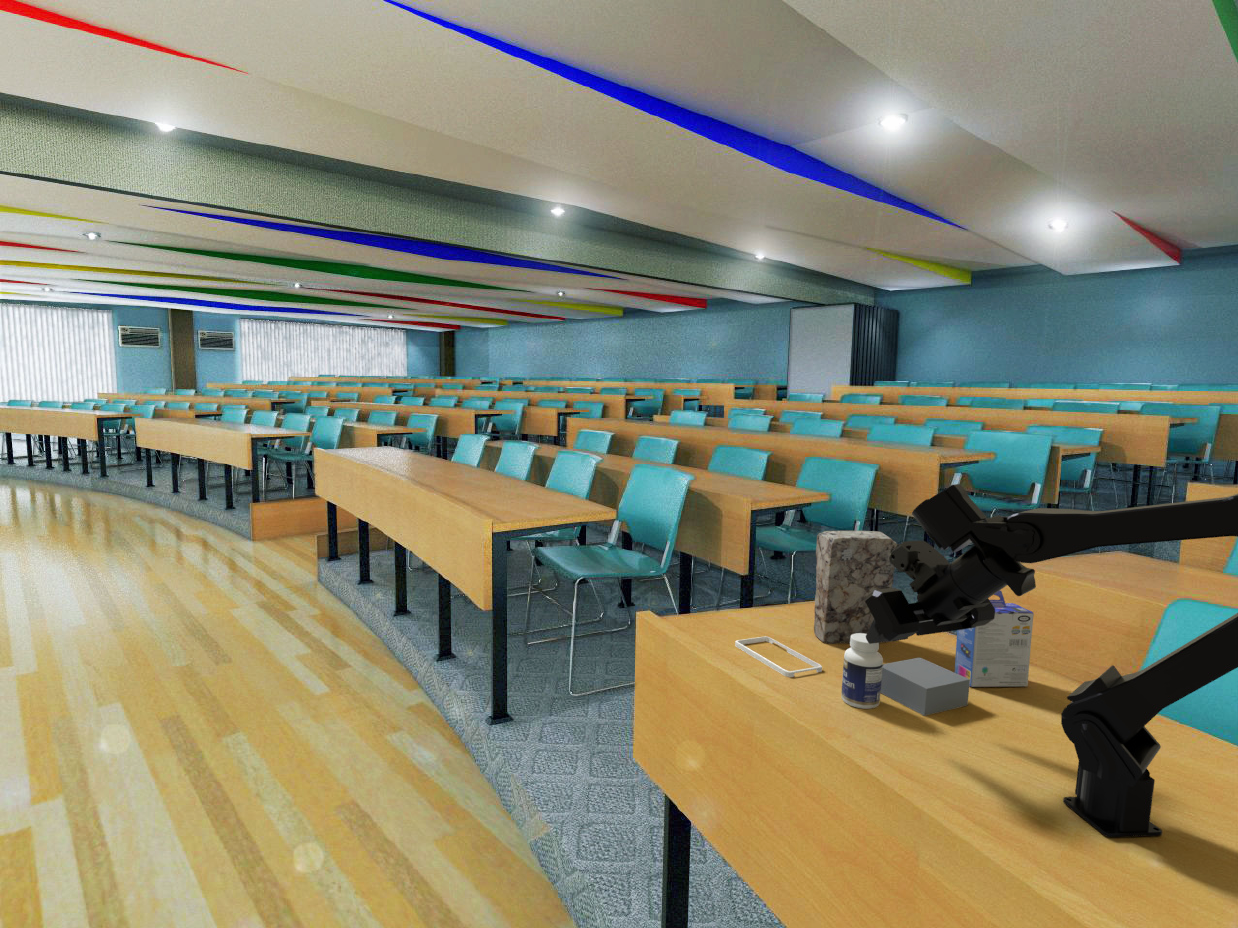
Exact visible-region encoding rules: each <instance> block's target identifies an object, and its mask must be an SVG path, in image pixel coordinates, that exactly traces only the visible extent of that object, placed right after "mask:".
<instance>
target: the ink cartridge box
mask: <svg viewBox="0 0 1238 928" xmlns="http://www.w3.org/2000/svg"><path fill="white" fill-rule="evenodd" d="M993 596H997V597H998V598H999V599H989V601H990V602H991V604H992V605H993V607H994V608H995V617H994V619H993V620H992V621H990V622H989V623H987V624H986V625H982V626H976V627H975V628H969V629H963V630H956V645H955V657H954V658H955V661H954V673H957V674H959V675H961V676H963V677H966V678H968V679H970V685H969V688H970V687H971V688H983V687H984V688H987V687H988V688H990V687H992V688H993V687H996V688H997V687H998V688H1000V687H1002V688H1003V687H1011V688H1012V687H1028V684H1029V672H1030V663H1031V662H1030V661H1031V647H1032V636H1033V627H1034V626H1033V624H1034V616H1035V614H1034V611H1031V610H1030V609H1027V608H1025V607H1022V606H1021V605H1018V604H1016V603H1013V602H1009V603H1008V602H1007V603H1006V601H1005V598H1004V595H1003V591H1002V590H1000V591H998V592H997V593H995V594H994V595H993ZM972 617H973V616H972ZM973 619H974V617H973Z"/></svg>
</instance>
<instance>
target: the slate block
mask: <svg viewBox="0 0 1238 928" xmlns="http://www.w3.org/2000/svg"><path fill="white" fill-rule="evenodd" d="M969 685H970V679H968V678H966V677H963V676H961V675H959V674H957V673H955V671H952V670H950V669H947V668H944V667H943V666H940V665H937V664H935V663H933V662H931V661H929V660H927V659H924V658H922V657H915V658H910V659H904V660H900V661H893V662H888V663H883V668H882V681H881V694H882V695H884V696H886V697H887V698H889V699H891V700H893V701H895V702H897V703H899V704H901V705H903V706H905V707H906V708H909V709H910V710H912V711H914V712H916V713H918V714H920V715H921V716H923V717H925V716H929V715H933V714H938V713H942V712H946V711H950V710H955V709H959V708H962V707H967V706H968V704H969V693H970V686H969Z"/></svg>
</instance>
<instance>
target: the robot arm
mask: <svg viewBox="0 0 1238 928" xmlns="http://www.w3.org/2000/svg"><path fill="white" fill-rule="evenodd" d="M911 515H912V516H913V518H914V519H915V521H916V522H917V523H918V524H919V525H920V526H921V528H922V529H923V530H924V531H925V532H926V534H927V535H928V537H929V538H930V539H931V540H932V542H934V544H935V545H936V546H937V547H938V549H939V550H940V551H947V550H949V549H950V550H951V551H952V552H953V553H957V552H959V551H960V550H963V549H964V548H966V547H967V546H969V545H971V544H973V546H972V547H969V549H968V550H966V551H965V552H963V553H962V554H961V555H959V557H957V558H956V559H954V560H953V561H952V562H949V561H948V559H947V557H945V556H944V555H942V553H940V552H939V551H938V550H937V549H936V548H935V547H934V546H932V545H931V544H930V543H928V542H927V541H924V540H909V541H908V540H907V541H902V542H901V543H897V546H896V548H894V549H891V551H890V553H891V555H890V557H889V560H890V563H891V564H892V565H893V566H894V567H895V568H896V570H897V571H898V572H900V573H905V574H906V575H907V576H908V577H909V578H910V579H912V580H913V581H911V582H910V583H909V586H910V588H911V590H912V591H913V593H916V594H917V595H916V600H917V602H912V603H909V601H908V599H907V597H906V596H905V594H904V593H903V590H901V589H899V588H896V587H892V588H886V589H878V590H874V591H873V592H871V593H870V594H869V595H868V596H867V597H866V599H865V602H866V604H867V606H868V608H869V610H870V612H871V614H872V616H873V617H874V620H873V622H872V624H871V626H870V628H869V630H868V632H867V635H866V639H867V641H868V643H869V644H873V643H879V644H880V643H881V644H882V643H889V642H899V641H903V640H904V641H905V640H908V639H909V638H910V637H912V636H914V635H916V636H925V635H932V634H933V635H934V634H939V633H940V634H941V633H948V632H955V631H956V632H957V630H963V629H969V628H975V627H976V626H982V625H986V624H987V623H989V622H990V621H992V620H993V619H994V617H995V608H994V607H993V605H992V604H991V602H990V601H989V600H990V599H989V598H990V597H992V596H995V595H994V594H995V593H997V592H998V591H1002V589H1004V588H1005V587H1009V589H1010V590H1011V591H1012V592H1013V593H1014V595H1015V596H1017V597H1022V596H1023V595H1025V594H1027V593H1028V592H1031V591H1033V590H1034V589H1036V588H1037V584H1036V579H1035V574H1036V570H1035V569H1034V568H1029V567H1026V566H1025V565H1024V564H1035V563H1039V562H1040V563H1041V562H1044V561H1047V560H1048V561H1049V560H1051V559H1056V558H1060V557H1065V556H1068V555H1072V554H1076V553H1080V552H1083V551H1086V550H1093V549H1095V548H1100V547H1112V546H1124V545H1125V546H1126V545H1138V544H1151V543H1163V542H1164V543H1165V542H1176V541H1186V540H1198V539H1199V540H1201V539H1212V538H1224V537H1238V493H1236V494H1234V495H1229V496H1223V497H1215V498H1207V499H1196V500H1195V499H1194V500H1188V501H1187V500H1186V501H1181V502H1180V501H1179V502H1171V503H1169V502H1168V503H1160V504H1152V505H1144V506H1136V507H1127V508H1118V509H1117V508H1116V509H1110V510H1109V509H1108V510H1084V509H1083V510H1082V509H1073V508H1049V507H1048V508H1045V507H1044V508H1043V507H1042V508H1040V507H1038V508H1034V509H1028V510H1025V511H1021V512H1017V513H1013V514H1011V515H1009V516H1002V515H995V516H991V517H987V516H986V514H985V513H984V512H983V511H982V510H981V508H979V507H978V505H977V504H976V503H975V502H974V501H973V500H972V498H971V497H970V496H969V494H968V492H967V491H966V489H965V488H964V487H963V485H961V483H957V484H956V483H955V484H951V485H950V486H948V487H947V488H946V489H944V490H941V491H940V492H938V493H937V494H935V495H934V496H932V497H930V498H927V499H925V500H923V501H922V502H921V503H919V504H918V505H917V506H916V507H915V508H914V509H913V511H912V512H911ZM972 616H973V617H974V619H973V617H972ZM1236 669H1238V612H1237V613H1235V614H1233V615H1232V616H1230V617H1228V618H1226V619H1225V620H1223V621H1221V622H1220V623H1218V624H1216V625H1215V626H1213V627H1211V628H1209V629H1208V630H1206V631H1205V632H1203V633H1201V634H1199V635H1198V636H1197V637H1195V638H1193V639H1192V640H1190V641H1188V642H1187V643H1185V644H1183V645H1182V646H1180V647H1178V648H1177V649H1175V650H1173V651H1172V652H1170V653H1168V654H1167V655H1165V656H1163V657H1161V658H1160V659H1158V660H1156V661H1155V662H1153V663H1151V664H1150V665H1148V666H1146V667H1144V668H1142V670H1138V671H1135V672H1132V673H1128V674H1123V675H1122V674H1121V673H1120V671H1118V669H1117V667H1116V666H1115V665H1113V664H1112V665H1111V666H1110V667H1109V668H1107V669H1106V670H1105V671H1104V672H1103V673H1102V674H1101V675H1099V676H1098V677H1096V678H1095V679H1092V680H1085V681H1083V682H1082V683H1081V684H1080V685H1079V686H1078V687H1076V688H1075V689H1074V690H1073V691H1072V692H1071V693H1070V694H1069V695H1067V696H1066V699H1067V701H1070V703H1068V705H1066V706H1065V707H1064V708H1063V710H1062V712H1061V714H1060V715H1061V717H1060V718H1061V722H1060V723H1061V727H1062V730H1063V732H1064V735H1066V737H1067V738H1068V740H1069V741H1070V742H1072V744H1073V746H1074V749H1075V752H1076V756H1077V759H1078V764H1077V774H1076V783H1075V792H1074V793H1075V796H1064V797H1063V803H1064V804H1065V805H1066V806H1067V807H1069V808H1070V809H1071V811H1072V810H1073V812H1075V814H1078V816H1079V817H1081V818H1082V819H1083V820H1084V821H1086V822H1087V823H1088V824H1090V825H1091V826H1092V827H1093V828H1095V830H1097V831H1098V832H1100V833H1101V834H1102V835H1103V836H1105V837H1108V838H1125V837H1127V838H1128V837H1157V836H1159V837H1160V836H1162V835H1163V830H1162V829H1161V828H1160V827H1159V826H1157V825H1156V824H1155V823H1153V822H1151V821H1150V820H1151V812H1152V806H1153V805H1152V804H1153V798H1154V788H1155V782H1156V780H1155V779H1154V778H1153V777H1152V776H1151V772H1150V771H1149V769H1148V767H1149V765H1150V764H1151V763H1152V761H1153V759H1154V758H1155V757H1156V755H1157V754H1158V752H1159V751H1160V749H1161V745H1160V743H1159V742H1158V741H1157V739H1156V738H1155V737H1154V736H1153V735H1152V733H1151V732H1150V731H1149V730H1148V729H1147V727H1146V725H1147V724H1149V722H1150V721H1152V720H1153V718H1155V717H1156V716H1157V715H1158V714H1159V713H1160V712H1161V711H1163V709H1165V708H1168V707H1169V706H1171V705H1172V704H1174V703H1177V702H1178V701H1180V700H1181V699H1184V698H1185V697H1186V696H1188V695H1190V694H1193V693H1194V692H1196V691H1198V690H1200V689H1201V688H1204V687H1205V686H1207V685H1209V684H1210V683H1212V682H1214V681H1215V680H1217V679H1220V678H1221V677H1224V676H1225V675H1227V674H1228V673H1230V672H1232V671H1233V670H1236Z"/></svg>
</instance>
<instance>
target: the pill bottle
mask: <svg viewBox="0 0 1238 928" xmlns="http://www.w3.org/2000/svg"><path fill="white" fill-rule="evenodd" d="M866 635H867V634H864V633H856V634H852V635H851V638H850V643H849V646H850V647H849V648H847V649H846V650H845V651H844V657H843V665H842V681H841V695H840V696H841V700H843V702H844V703H846V704H847V705H850V707H854V708H858V709H862V710H863V709H865V710H870V709H875V708H877V707H878V706H879V705H880V703H881V702H880V701H881V694H882V693H881V681H882V668H883V664H884V659H883V656H882V654H881V653H880V652H879V648H880V643H873V644H869V643H868V641H867V639H866Z"/></svg>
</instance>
